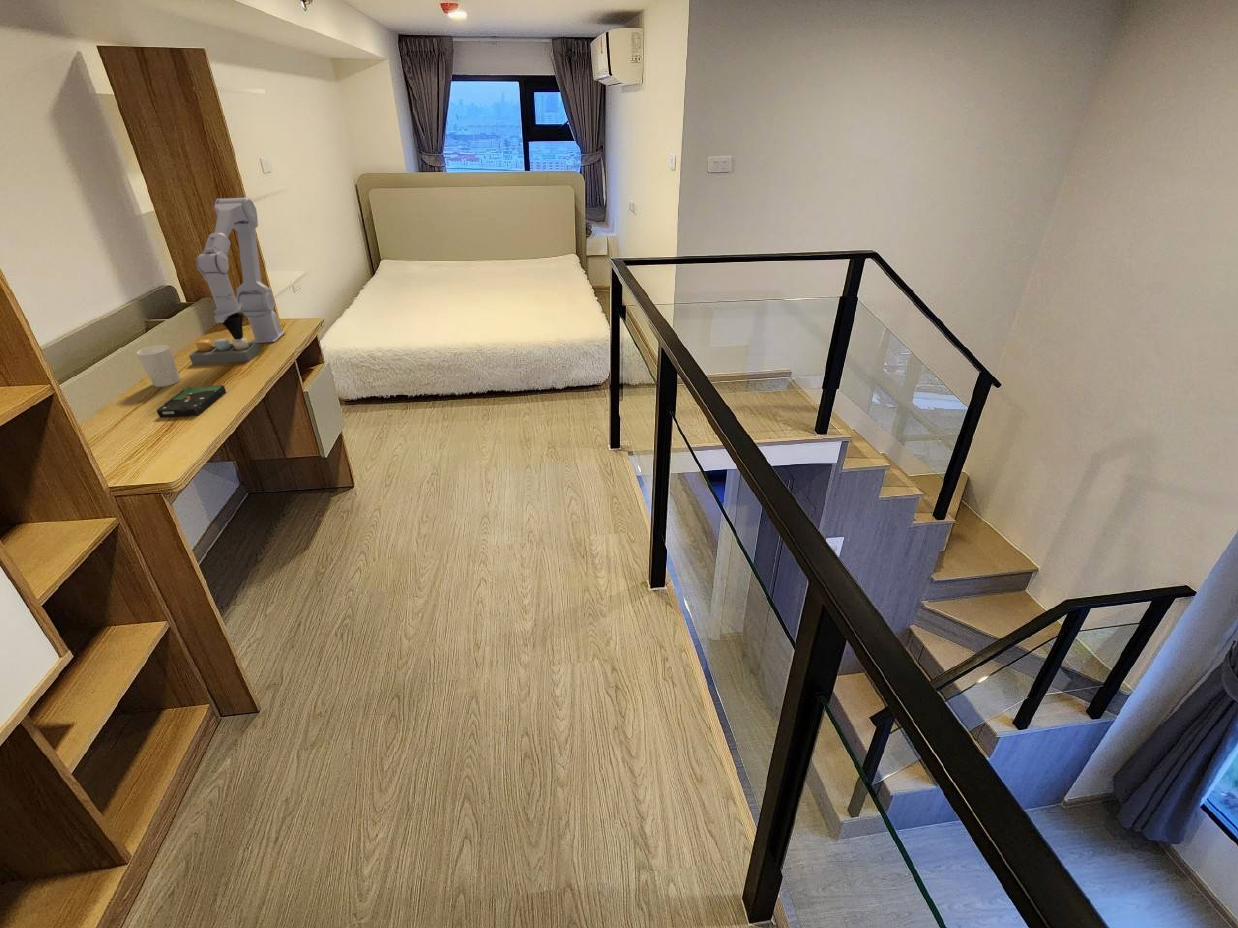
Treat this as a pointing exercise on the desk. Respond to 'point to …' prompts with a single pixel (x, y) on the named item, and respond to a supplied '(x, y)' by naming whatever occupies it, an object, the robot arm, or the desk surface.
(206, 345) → the button orange
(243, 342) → the button ivory
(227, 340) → the grey rounded dome
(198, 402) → the disk drive
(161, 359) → the white cup
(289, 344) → the desk surface
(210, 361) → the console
